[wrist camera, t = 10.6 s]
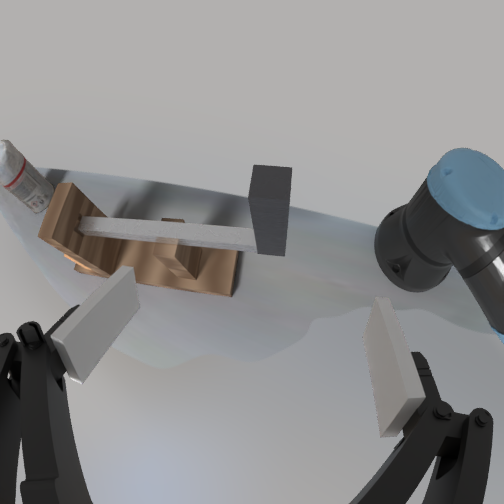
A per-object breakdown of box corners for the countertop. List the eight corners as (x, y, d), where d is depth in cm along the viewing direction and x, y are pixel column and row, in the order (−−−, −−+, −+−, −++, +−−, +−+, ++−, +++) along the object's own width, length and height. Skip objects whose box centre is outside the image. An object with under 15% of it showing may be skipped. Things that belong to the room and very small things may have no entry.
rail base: (239, 248, 48) (219, 183, 30) (231, 296, 45) (203, 255, 27) (91, 234, 51) (32, 184, 33) (79, 272, 49) (12, 233, 31)
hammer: (286, 235, 34) (292, 167, 22) (284, 259, 33) (289, 200, 21) (90, 219, 37) (37, 169, 25) (84, 238, 36) (26, 192, 24)
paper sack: (60, 181, 57) (12, 132, 39) (50, 212, 55) (-5, 165, 36) (38, 186, 58) (-8, 142, 39) (28, 215, 55) (-23, 173, 36)
